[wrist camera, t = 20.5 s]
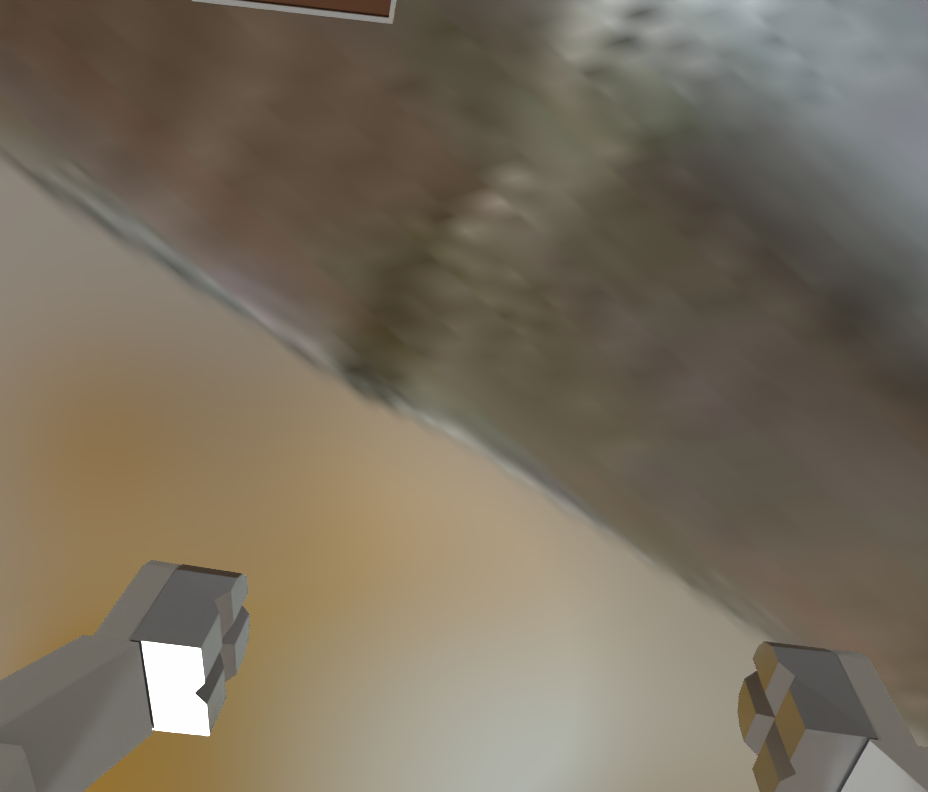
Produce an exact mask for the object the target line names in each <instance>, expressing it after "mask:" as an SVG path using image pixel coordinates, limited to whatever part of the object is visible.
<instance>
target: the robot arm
mask: <svg viewBox="0 0 928 792" xmlns="http://www.w3.org/2000/svg"><path fill="white" fill-rule="evenodd" d="M247 594H248V586H247V577H246V576H245V575H244V574H241V573H235V572H229V571H222V570H216V569H209V568H202V567H197V566H190V565H184V564H182V565H179V564H173V563H166V562H160V561H153V560H151V561H149V562H148V563H146V564H145V565H143V566H142V567H141V569H140V570H139V572H138V573H137V575H136V576H135V577H134V579H133V580H132V581H131V583H130V584H129V586H128V587H127V589H126V590H125V592H124V593H123V594H122V596H121V597H120V598H119V600H118V601H117V603H116V604H115V605H114V607H113V608H112V610H111V611H110V612H109V614H108V615H107V617H106V618H105V619H104V621H103V622H102V624H101V625H100V626H99V628H98V629H97V631H96V632H95V634H94V635H93V636H87V635H82V636H80V637H79V638H77V639H75V640H73V641H71V642H69V643H68V644H66V645H64V646H62V647H60V648H59V649H57V650H55V651H53V652H51V653H49V654H48V655H46V656H44V657H42V658H40V659H38V660H37V661H35V662H33V663H31V664H29V665H27V666H26V667H24V668H22V669H20V670H18V671H16V672H15V673H13V674H11V675H9V676H8V677H6V678H4V679H2V680H0V792H83V791H84V790H85V789H86V788H88V787H89V786H90V785H91V784H93V783H94V782H95V781H96V780H97V779H98V778H100V777H101V776H102V775H103V774H104V773H106V772H107V771H108V770H109V769H110V768H111V767H113V766H114V765H115V764H116V763H118V762H119V761H120V760H121V759H122V758H124V757H125V756H126V755H127V754H128V753H130V752H131V751H132V750H133V749H134V748H136V747H137V746H138V745H139V744H140V743H142V742H143V741H144V740H145V739H146V738H147V737H149V736H150V735H151V734H152V730H160V731H170V732H179V733H190V734H198V735H208V736H209V735H210V733H211V731H212V728H213V726H214V724H215V721H216V720H217V717H218V715H219V713H220V711H221V708H222V706H223V704H224V702H225V699H226V690H225V682H226V681H227V680H229V679H230V678H232V677H233V676H235V675H236V674H237V672H238V670H239V668H240V665H241V662H242V660H243V658H244V654H245V650H246V646H247V642H248V637H249V627H250V621H249V613H248V612H247V611H246V609H245V608H244V607H243V606H242V604H243V602H244V600H245V598H246V596H247ZM753 661H754V664H755V666H756V669H757V671H756V672H754V673H753V674H751V675H750V676H748V677H746V678H745V679H744V681H743V684H742V687H741V690H740V693H739V702H738V718H739V726H740V730H741V733H742V736H743V740H744V742H745V743H746V744H747V745H748V746H749V747H750V748H751V749H752V750H753V751H754V752H755V753H756V754H757V755H758V757H757V759H756V761H755V764H754V766H753V772H754V775H755V778H756V782H757V785H758V788H759V791H760V792H928V747H924V746H918V745H917V744H916V742H915V740H914V738H913V736H912V735H911V733H910V731H909V729H908V727H907V726H906V724H905V722H904V720H903V718H902V717H901V715H900V713H899V711H898V709H897V708H896V706H895V704H894V702H893V700H892V699H891V697H890V695H889V693H888V691H887V690H886V688H885V686H884V684H883V682H882V681H881V679H880V677H879V675H878V673H877V672H876V670H875V668H874V666H873V664H872V663H871V661H870V659H869V658H868V657H866V656H865V655H864V654H863V653H858V652H850V651H841V650H833V649H828V650H827V649H823V648H815V647H806V646H798V645H790V644H782V643H773V642H765V641H764V642H763V643H762V644H760V645H759V646H758V648H757V650H756V652H755V654H754V657H753Z"/></svg>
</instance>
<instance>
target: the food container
mask: <svg viewBox="0 0 928 792" xmlns="http://www.w3.org/2000/svg"><path fill="white" fill-rule="evenodd" d="M192 1H197V2H206V3H215V4H223V5H232V6H241V7H250V8H258V9H267V10H276V11H285V12H293V13H302V14H311V15H319V16H328V17H337V18H346V19H354V20H363V21H372V22H381V23H389V24H393V20H394V13H395V6H396V0H192Z"/></svg>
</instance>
